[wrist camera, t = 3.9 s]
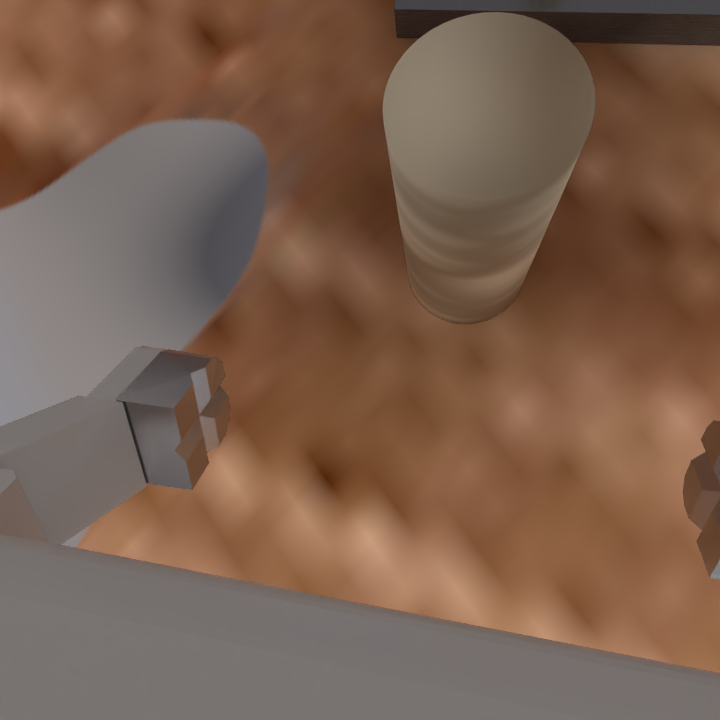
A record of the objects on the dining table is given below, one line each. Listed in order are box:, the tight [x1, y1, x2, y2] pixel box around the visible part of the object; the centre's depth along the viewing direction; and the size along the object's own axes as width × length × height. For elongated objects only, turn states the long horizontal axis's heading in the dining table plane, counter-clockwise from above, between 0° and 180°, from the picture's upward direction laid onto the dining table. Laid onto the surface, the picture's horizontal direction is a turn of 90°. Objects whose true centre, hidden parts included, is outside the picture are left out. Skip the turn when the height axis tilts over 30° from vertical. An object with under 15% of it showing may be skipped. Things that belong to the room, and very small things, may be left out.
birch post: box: [383, 12, 595, 324], centre depth 17 cm, size 4×4×10 cm
